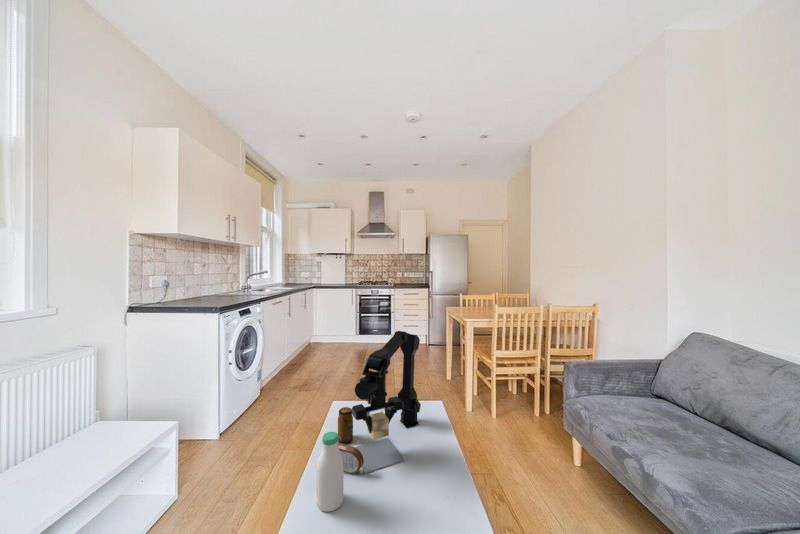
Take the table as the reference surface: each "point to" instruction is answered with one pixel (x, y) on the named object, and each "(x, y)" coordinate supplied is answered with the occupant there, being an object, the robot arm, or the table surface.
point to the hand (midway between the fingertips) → (377, 430)
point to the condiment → (346, 427)
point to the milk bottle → (330, 474)
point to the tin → (351, 458)
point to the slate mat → (379, 455)
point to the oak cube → (379, 425)
